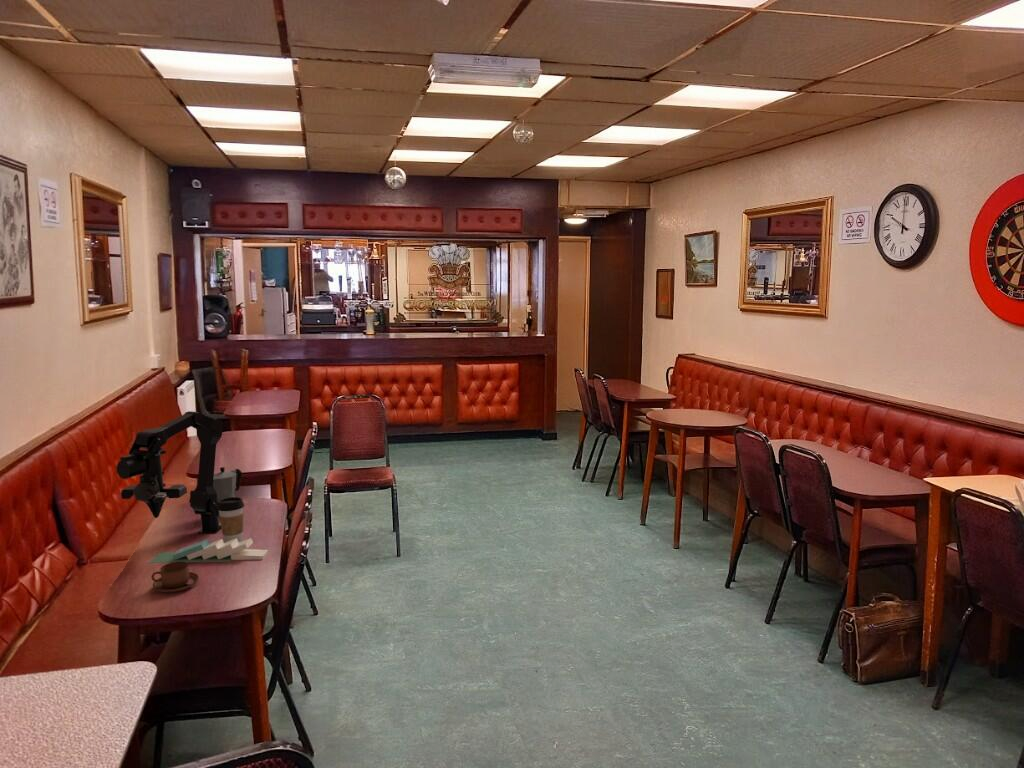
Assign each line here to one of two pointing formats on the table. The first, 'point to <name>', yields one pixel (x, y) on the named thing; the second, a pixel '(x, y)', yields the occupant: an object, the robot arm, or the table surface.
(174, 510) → the table surface
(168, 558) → the baize strip
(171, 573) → the cup and saucer
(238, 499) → the coffee cup
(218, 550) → the domino
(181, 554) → the domino
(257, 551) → the domino
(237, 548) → the domino
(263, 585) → the table surface
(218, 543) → the domino
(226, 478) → the coffeepot
